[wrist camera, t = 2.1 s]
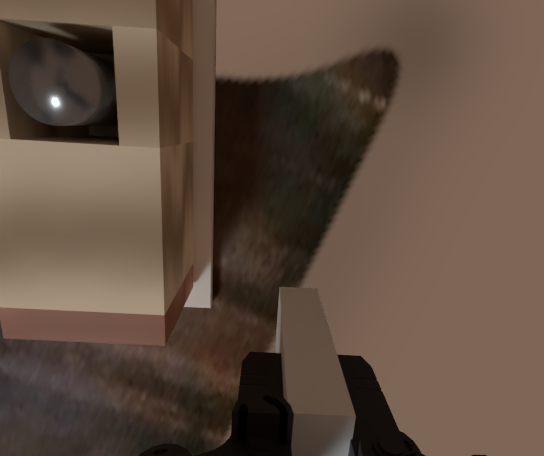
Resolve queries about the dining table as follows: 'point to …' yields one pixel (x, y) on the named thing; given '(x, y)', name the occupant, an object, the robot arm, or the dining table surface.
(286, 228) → the dining table surface
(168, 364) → the dining table surface
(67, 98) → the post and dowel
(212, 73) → the base board
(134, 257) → the beige block with hole
